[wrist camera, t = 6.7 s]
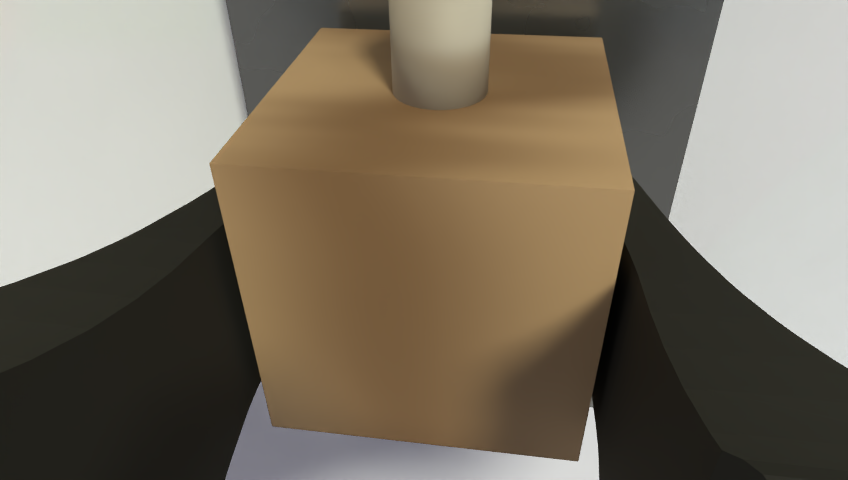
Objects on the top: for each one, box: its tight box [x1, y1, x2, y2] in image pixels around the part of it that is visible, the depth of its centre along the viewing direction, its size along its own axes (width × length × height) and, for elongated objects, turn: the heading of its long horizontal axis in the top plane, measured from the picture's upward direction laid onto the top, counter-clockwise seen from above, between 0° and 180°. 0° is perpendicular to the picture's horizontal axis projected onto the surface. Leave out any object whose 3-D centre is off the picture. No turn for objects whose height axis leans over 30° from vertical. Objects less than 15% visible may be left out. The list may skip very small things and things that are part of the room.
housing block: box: [210, 0, 635, 461], centre depth 11 cm, size 5×6×5 cm
